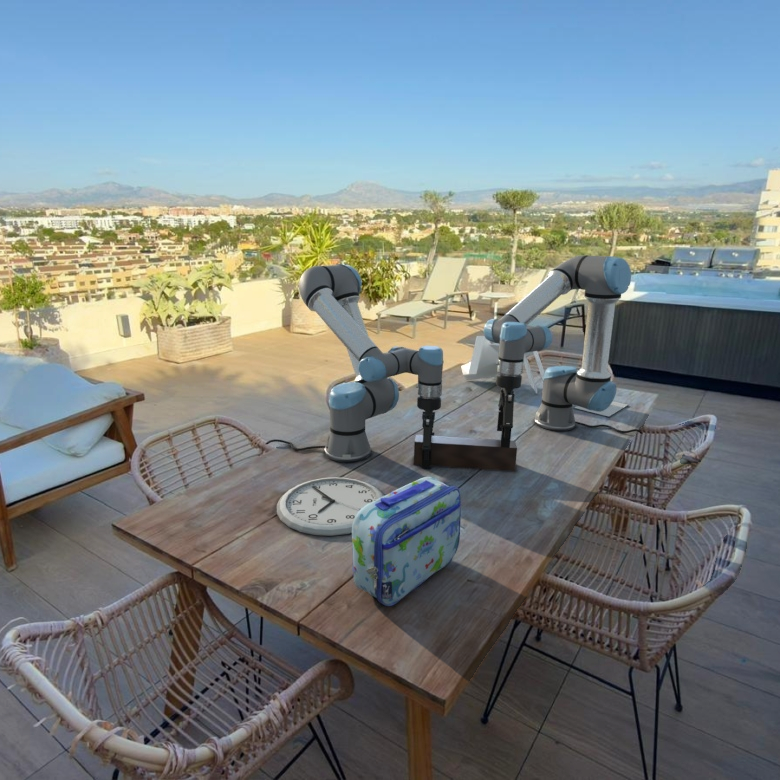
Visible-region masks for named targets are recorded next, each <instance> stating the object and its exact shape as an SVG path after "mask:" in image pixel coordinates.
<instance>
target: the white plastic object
mask: <svg viewBox="0 0 780 780" xmlns="http://www.w3.org/2000/svg"><path fill="white" fill-rule="evenodd" d="M499 346H500V344H498V343H494V342H491V341H489V340H487V339H486V338H485V336H484V335H476V336H475V341H474V347H473V350H472V355H471V360H470V361H469V362H467V363H465V364H463V365H461V366H460V367H461V372H462V376H463V377H464V378H465V380H466V381H473V380H482V379H483V380H484V379H490V378H491V379H494V380H496V377H497V374H498V373H499V372H498V371H497V368H498V365H496V362H499V361H498V357H499ZM531 356H534V359H535V363H536V365H537V369H538V370H539V374H540V377H541V380H542V383H543V382H544V379H543V378H544V375H545V369H544V366H543V364H542V361H541V357H540V353H539V351H533V352H527V353H524V363H523V366H524V369H525V371H526V374H527V377H528V381H529V384H530V387H531V388H532V390H533V392H534V393H535V394H538V388H537V385H536V382H535V378H534V375H533V372H532V369H531V366H530V362H529V360H528V357H531Z"/></svg>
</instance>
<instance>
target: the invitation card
mask: <svg viewBox="0 0 780 780" xmlns="http://www.w3.org/2000/svg"><path fill="white" fill-rule="evenodd" d="M628 406H629V404H627V403H623V402H618V401H614V400H613V401H612V403H611V404H610V406H609V407H608V408H607V409H605V410H604V411H601V412H597V411H593V410H588V409H586V408H583V407H580V406H577V405H575V406H574V407H573V409H575V410H581V411H584V412H587V413H593V414H596V415H600V416H604V417H608V418H609V417H611V416H613V415H614V414H616V413H617V412H619V411H621V410H623V409H624V408H626V407H628Z"/></svg>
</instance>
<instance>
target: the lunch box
mask: <svg viewBox="0 0 780 780" xmlns="http://www.w3.org/2000/svg"><path fill="white" fill-rule="evenodd" d="M461 499H462V497H461V491H460V489H459V488H458V487H457V486H455V485H450V486H449V485H447V484H445V483H444V482H442V481H440V480H438V479H436V478H434V477H432V476H424V477H421V478H419V479H416V480H414V481H412V482H410V483H407V484H405V485H404V486H401V487H399V488H397V489H395V490H392V491H391V492H390V493H386V494H384V496H383V497H381V498H379V499H377V500H375V501H373V502H371V503H369V504H367V505H365V506H364V507H362V508H361V509H360V510H359V512H358V513H357V515H356V516H355V518H354V521H353V526H352V533H351V550H352V576H353V581H354V584H355V587H356V588H358V589H360V590H362V591H364V592H366V593H368V594H370V596H372V597H374V598H375V599H377V601H378V603H379V604H382V605H383V606H385V607H393V606H394V605H396V604H397V603H399V602H400V601H402V599H404V598H405V597H406V596H407V595H409V594H410V593H411V592H413V591H414V590H415V589H416V588H418V587H419V586H420V585H422V584H423V583H424V582H425V581H427V580H428V579H429V578H430V577H432V575H434V574H435V573H437V572H439V571H441V570H442V569H443V568H445V567H446V566H448V565H449V564H450V562H452V560H453V559H454V557H455V555H456V553H457V551H458V549H459V544H460V537H461V519H462V515H461V513H462V512H461V510H462V507H461V505H462V504H461V503H462V502H461Z"/></svg>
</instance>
